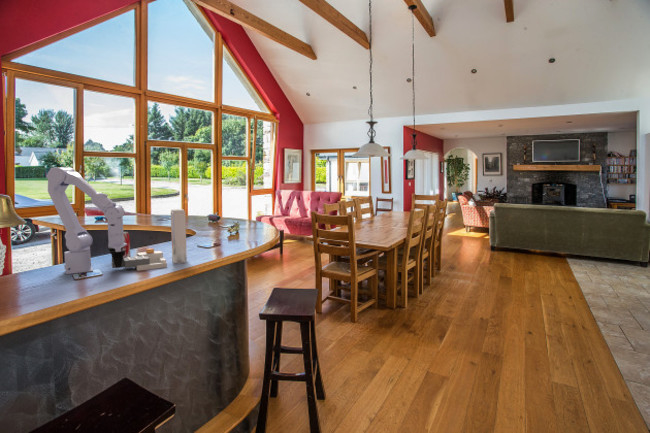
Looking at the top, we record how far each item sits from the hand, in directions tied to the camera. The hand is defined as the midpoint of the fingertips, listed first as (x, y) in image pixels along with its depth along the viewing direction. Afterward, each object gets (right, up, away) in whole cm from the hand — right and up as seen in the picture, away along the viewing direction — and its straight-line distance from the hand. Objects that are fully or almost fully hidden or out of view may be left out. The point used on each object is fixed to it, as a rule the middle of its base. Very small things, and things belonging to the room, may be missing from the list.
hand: (117, 265), depth 164 cm
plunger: (+8, +1, +13) cm, 15 cm away
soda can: (-9, 0, +21) cm, 22 cm away
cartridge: (+4, -1, +3) cm, 5 cm away
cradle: (+10, -1, +9) cm, 13 cm away
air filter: (+21, -1, +16) cm, 26 cm away
